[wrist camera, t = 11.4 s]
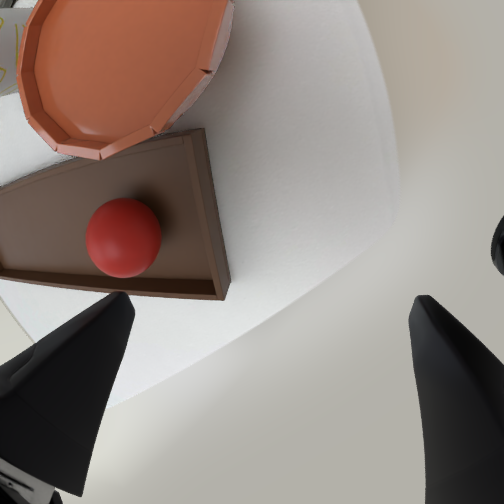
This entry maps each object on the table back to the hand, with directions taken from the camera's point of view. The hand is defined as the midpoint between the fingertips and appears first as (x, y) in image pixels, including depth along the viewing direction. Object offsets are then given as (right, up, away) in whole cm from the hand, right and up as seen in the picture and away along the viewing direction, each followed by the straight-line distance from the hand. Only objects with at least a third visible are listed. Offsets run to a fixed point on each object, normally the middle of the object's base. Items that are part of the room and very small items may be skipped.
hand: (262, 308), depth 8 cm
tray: (-23, +4, +17) cm, 29 cm away
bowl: (-7, +16, +7) cm, 18 cm away
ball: (-9, +4, +14) cm, 17 cm away
